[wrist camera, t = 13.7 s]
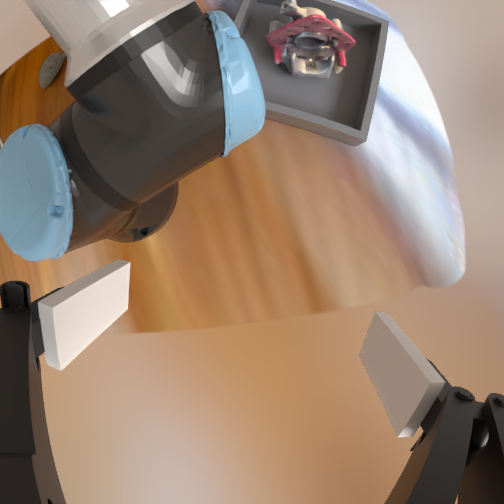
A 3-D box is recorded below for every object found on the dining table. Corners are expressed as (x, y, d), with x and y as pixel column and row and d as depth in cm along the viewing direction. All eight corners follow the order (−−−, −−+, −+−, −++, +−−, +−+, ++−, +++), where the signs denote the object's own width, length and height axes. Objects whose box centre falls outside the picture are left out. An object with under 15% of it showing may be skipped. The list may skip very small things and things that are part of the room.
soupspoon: (39, 72, 37) (44, 96, 38) (29, 69, 33) (33, 93, 35) (130, 3, 33) (139, 25, 34) (122, -5, 30) (131, 17, 31)
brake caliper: (267, 91, 33) (264, 5, 22) (265, 55, 37) (262, -13, 27) (355, 94, 32) (370, 14, 21) (338, 58, 37) (345, -8, 26)
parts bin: (213, 106, 37) (206, 96, 32) (252, 0, 32) (251, -18, 28) (354, 146, 37) (366, 141, 32) (378, 35, 32) (388, 21, 28)
